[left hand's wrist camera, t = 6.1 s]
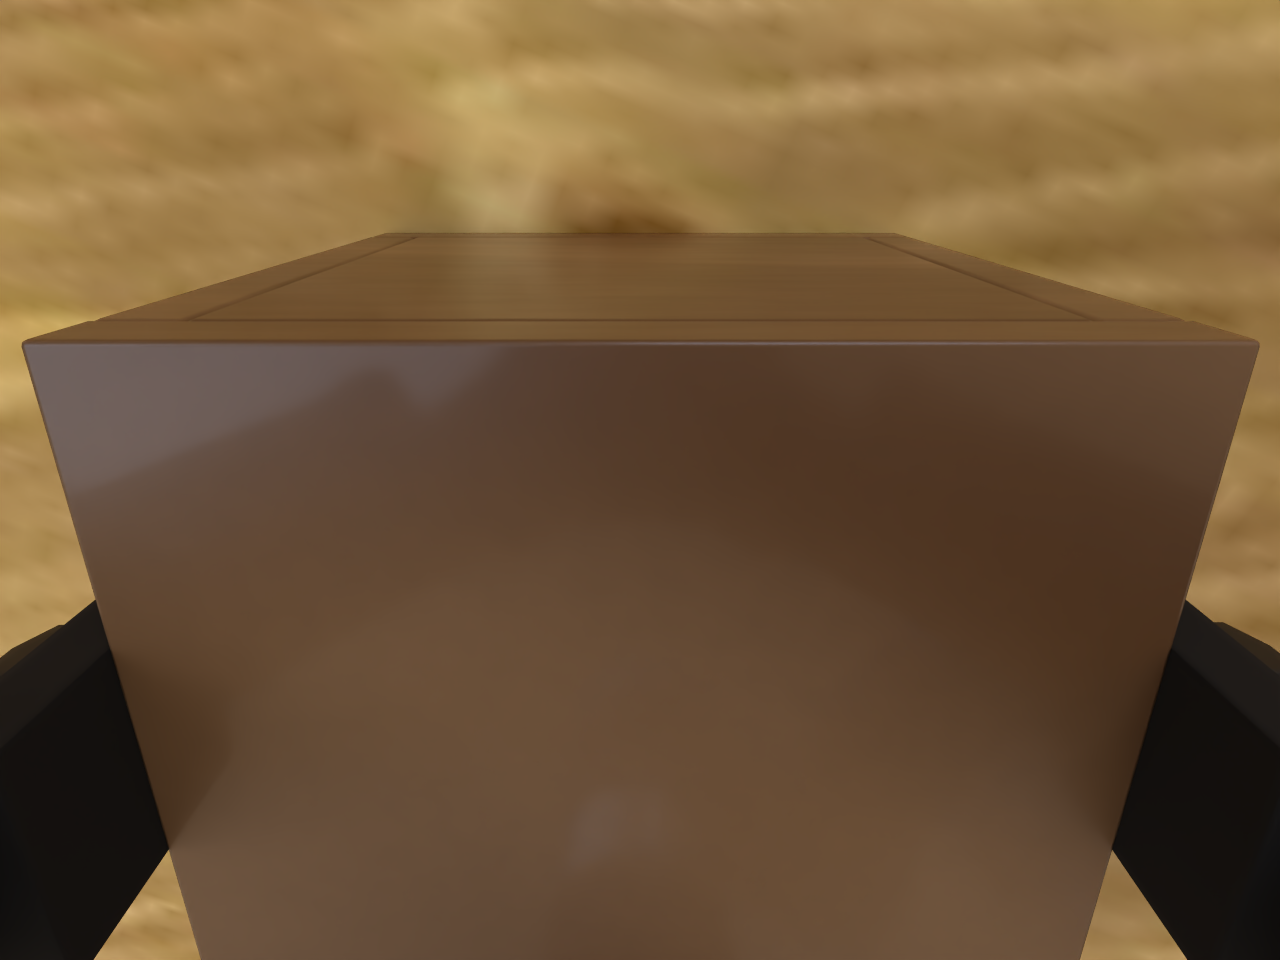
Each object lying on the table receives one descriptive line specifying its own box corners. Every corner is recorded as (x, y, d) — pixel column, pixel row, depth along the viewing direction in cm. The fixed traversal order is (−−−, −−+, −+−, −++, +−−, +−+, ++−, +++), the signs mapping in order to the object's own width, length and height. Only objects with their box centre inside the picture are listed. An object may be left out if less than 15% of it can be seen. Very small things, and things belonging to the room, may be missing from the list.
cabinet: (816, 935, 24) (935, 1457, 15) (463, 936, 24) (345, 1458, 15) (898, 232, 17) (1265, 340, 7) (382, 233, 17) (16, 340, 7)
